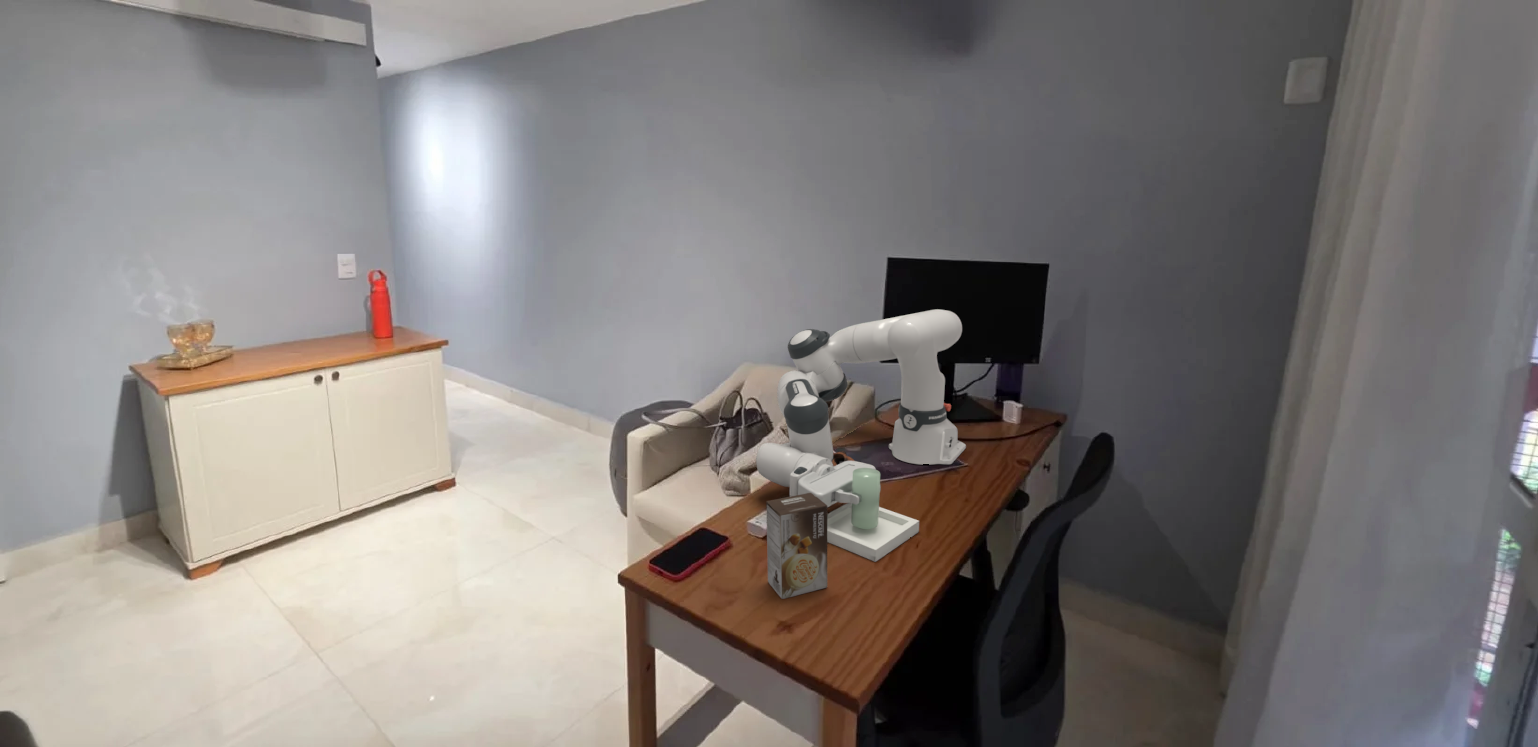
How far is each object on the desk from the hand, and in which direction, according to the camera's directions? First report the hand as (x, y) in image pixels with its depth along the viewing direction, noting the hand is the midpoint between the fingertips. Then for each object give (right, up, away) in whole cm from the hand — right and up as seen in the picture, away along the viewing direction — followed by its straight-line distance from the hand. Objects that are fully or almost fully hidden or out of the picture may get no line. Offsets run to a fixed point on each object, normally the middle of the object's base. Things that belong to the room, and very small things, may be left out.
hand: (869, 494), depth 135 cm
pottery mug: (-2, -2, +29) cm, 30 cm away
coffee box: (-15, -14, -16) cm, 26 cm away
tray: (-1, -9, +3) cm, 9 cm away
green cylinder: (-1, -6, +2) cm, 7 cm away
